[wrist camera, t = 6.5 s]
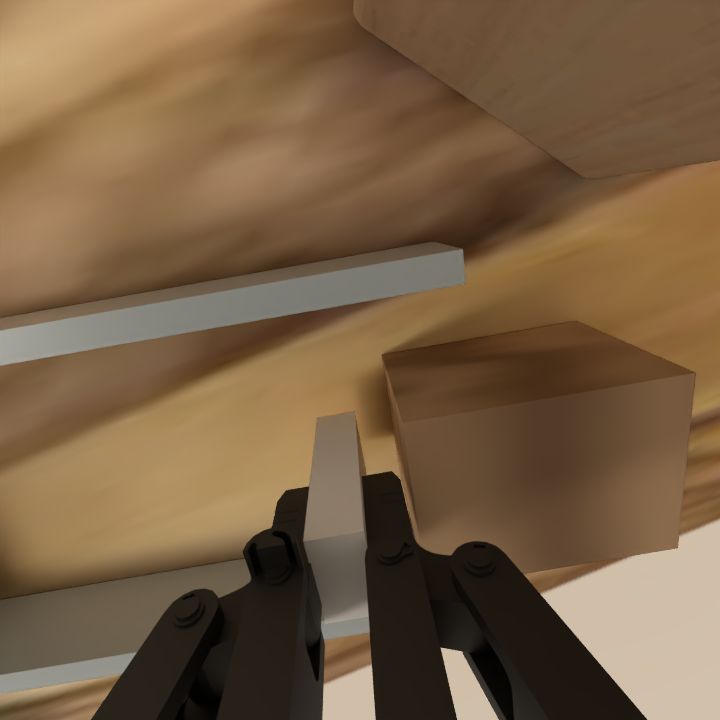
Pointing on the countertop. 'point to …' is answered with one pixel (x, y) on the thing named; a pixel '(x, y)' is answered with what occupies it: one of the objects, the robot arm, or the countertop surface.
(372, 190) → the countertop surface
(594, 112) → the wooden block
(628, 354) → the walnut block
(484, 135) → the countertop surface
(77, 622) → the grey u-shaped frame
